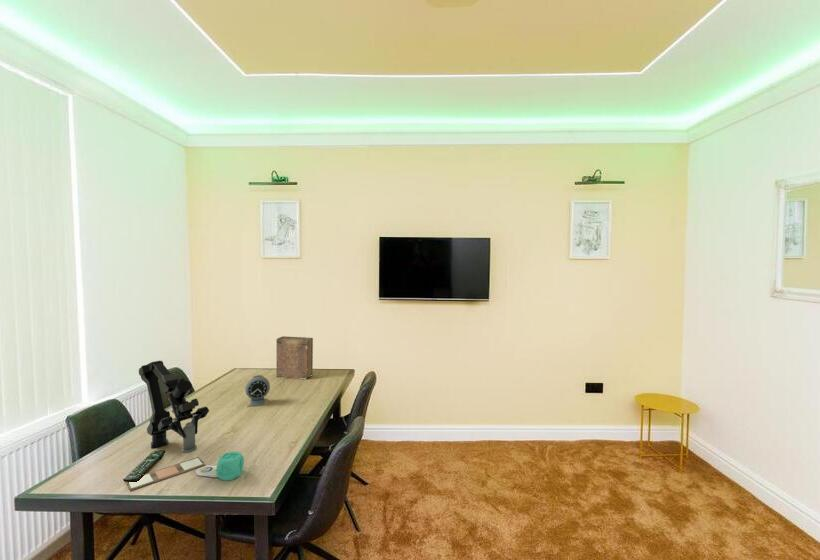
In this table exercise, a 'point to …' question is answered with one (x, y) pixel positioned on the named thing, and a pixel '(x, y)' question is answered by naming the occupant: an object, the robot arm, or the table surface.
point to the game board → (166, 473)
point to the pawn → (189, 438)
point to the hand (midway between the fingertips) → (190, 435)
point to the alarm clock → (257, 390)
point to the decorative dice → (230, 466)
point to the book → (294, 357)
